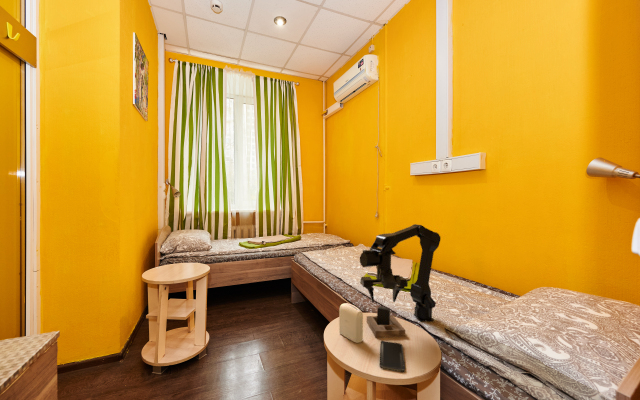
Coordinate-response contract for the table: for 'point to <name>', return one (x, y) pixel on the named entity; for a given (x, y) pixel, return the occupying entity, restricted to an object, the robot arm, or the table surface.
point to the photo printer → (351, 322)
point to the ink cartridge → (383, 316)
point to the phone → (392, 356)
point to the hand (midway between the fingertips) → (383, 302)
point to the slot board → (385, 328)
